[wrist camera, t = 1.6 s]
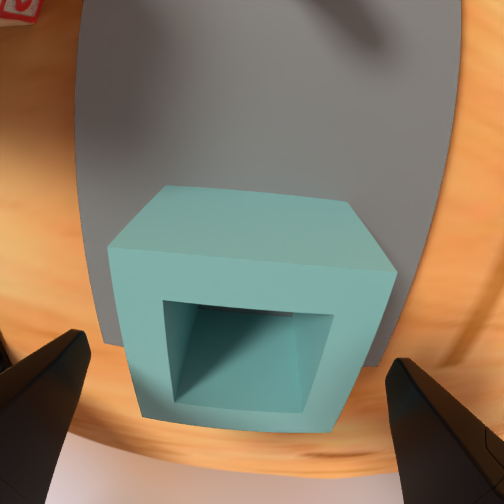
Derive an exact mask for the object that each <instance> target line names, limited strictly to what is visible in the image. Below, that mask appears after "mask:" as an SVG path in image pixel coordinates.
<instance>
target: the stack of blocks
mask: <svg viewBox="0 0 504 504" xmlns="http://www.w3.org/2000/svg"><path fill="white" fill-rule="evenodd" d="M42 3H43V0H0V27H3V26H15V25H33V24H35V23H36V21H37V18H38V15H39V12H40V9H41V6H42Z"/></svg>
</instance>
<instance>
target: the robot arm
mask: <svg viewBox="0 0 504 504" xmlns="http://www.w3.org/2000/svg"><path fill="white" fill-rule="evenodd" d="M90 359H91V350H90V347H89V343H88V340H87V337H86V334H85V332H84V331H81V330H76V329H71V330H69V331H67V332H66V333H64V334H62V335H61V336H59V337H58V338H56V339H54V340H53V341H51V342H50V343H48V344H46V345H45V346H43V347H42V348H40V349H38V350H37V351H35V352H34V353H32V354H30V355H29V356H27V357H26V358H24V359H23V360H21V361H19V362H18V363H16V364H15V365H13V366H11V364H10V362H9V360H8V358H7V356H6V354H5V351H4V349H3V347H2V345H1V343H0V504H45V500H46V497H47V493H48V490H49V487H50V483H51V480H52V477H53V473H54V470H55V467H56V464H57V460H58V458H59V455H60V452H61V449H62V446H63V443H64V440H65V437H66V434H67V432H68V429H69V426H70V423H71V421H72V418H73V415H74V412H75V410H76V407H77V404H78V402H79V398H80V395H81V391H82V388H83V384H84V380H85V377H86V373H87V369H88V366H89V363H90ZM385 386H386V394H387V403H388V412H389V422H390V429H391V434H392V439H393V444H394V449H395V454H396V459H397V464H398V470H399V475H400V481H401V487H402V493H403V500H404V504H504V441H503V440H501V439H500V438H499V437H498V436H497V435H496V434H495V433H493V432H492V431H491V430H490V429H489V428H488V427H487V426H485V425H484V424H483V423H482V422H481V421H480V420H479V419H478V418H477V417H476V416H474V415H473V414H472V413H471V412H470V411H469V410H468V409H467V408H466V407H464V406H463V405H462V404H461V403H460V402H459V401H458V400H457V399H455V398H454V397H453V396H452V395H451V394H450V393H449V392H448V391H446V390H445V389H444V388H443V387H442V386H441V385H440V384H438V383H437V382H436V381H435V380H434V379H433V378H432V377H430V376H429V375H428V374H427V373H426V372H425V371H424V370H422V369H421V368H420V367H419V366H418V365H417V364H416V363H414V362H413V361H412V360H411V359H410V358H396V359H395V360H394V362H393V364H392V366H391V368H390V370H389V372H388V374H387V376H386V379H385Z"/></svg>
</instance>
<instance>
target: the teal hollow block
mask: <svg viewBox="0 0 504 504" xmlns="http://www.w3.org/2000/svg"><path fill="white" fill-rule="evenodd" d="M107 249H108V257H109V265H110V272H111V279H112V285H113V291H114V297H115V303H116V309H117V314H118V319H119V325H120V330H121V334H122V339H123V344H124V348H125V353H126V357H127V361H128V366H129V370H130V374H131V378H132V382H133V385H134V389H135V393H136V397H137V400H138V404H139V407H140V411H141V414H142V417H145V418H150V419H156V420H161V421H167V422H173V423H180V424H187V425H194V426H202V427H210V428H219V429H230V430H242V431H257V432H281V433H328V432H331V431H332V429H333V427H334V425H335V423H336V421H337V419H338V417H339V415H340V413H341V411H342V409H343V407H344V405H345V403H346V401H347V399H348V397H349V395H350V392H351V390H352V388H353V386H354V384H355V382H356V379H357V377H358V375H359V373H360V370H361V368H362V366H363V363H364V361H365V359H366V356H367V354H368V352H369V349H370V347H371V344H372V342H373V339H374V337H375V334H376V332H377V329H378V327H379V324H380V321H381V319H382V316H383V313H384V311H385V308H386V305H387V302H388V300H389V297H390V294H391V291H392V288H393V285H394V282H395V279H396V276H397V273H398V272H397V271H396V269H395V268H394V266H393V265H392V263H391V262H390V260H389V259H388V258H387V256H386V255H385V253H384V252H383V250H382V249H381V247H380V246H379V245H378V243H377V242H376V240H375V239H374V238H373V236H372V235H371V233H370V232H369V231H368V229H367V228H366V226H365V225H364V224H363V222H362V221H361V220H360V218H359V217H358V216H357V214H356V213H355V212H354V210H353V209H352V208H351V206H350V205H349V204H348V202H344V201H336V200H328V199H320V198H312V197H303V196H293V195H284V194H274V193H264V192H253V191H241V190H229V189H216V188H202V187H187V186H170V185H165V186H164V187H163V188H162V189H161V190H160V191H159V192H158V193H157V194H156V195H155V196H154V197H153V199H152V200H151V201H150V202H149V203H148V204H147V205H146V206H145V207H144V208H143V209H142V210H141V211H140V212H139V213H138V214H137V215H136V216H135V217H134V218H133V219H132V220H131V221H130V222H129V223H128V225H127V226H126V227H125V228H124V229H123V230H122V231H121V232H120V233H119V234H118V235H117V236H116V238H115V239H114V240H113V241H112V242H111V243H110V244H109V245H108V246H107ZM198 304H203V305H213V306H223V307H234V308H245V309H257V310H269V311H283V312H293V316H292V317H285V316H271V315H258V314H246V313H235V312H224V311H214V310H204V309H198Z"/></svg>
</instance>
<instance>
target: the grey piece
mask: <svg viewBox="0 0 504 504" xmlns="http://www.w3.org/2000/svg"><path fill="white" fill-rule="evenodd" d="M460 47H461V0H84V2H83V9H82V16H81V23H80V31H79V40H78V50H77V63H76V79H75V159H76V176H77V189H78V200H79V210H80V219H81V227H82V235H83V242H84V249H85V255H86V261H87V267H88V273H89V278H90V284H91V289H92V294H93V299H94V303H95V308H96V312H97V317H98V321H99V325H100V329H101V333H102V337H103V341H104V343H106V344H111V345H117V346H122V347H124V344H123V339H122V334H121V330H120V325H119V319H118V314H117V309H116V303H115V297H114V291H113V285H112V279H111V272H110V265H109V257H108V249H107V246H108V245H109V244H110V243H111V242H112V241H113V240H114V239H115V238H116V236H117V235H118V234H119V233H120V232H121V231H122V230H123V229H124V228H125V227H126V226H127V225H128V223H129V222H130V221H131V220H132V219H133V218H134V217H135V216H136V215H137V214H138V213H139V212H140V211H141V210H142V209H143V208H144V207H145V206H146V205H147V204H148V203H149V202H150V201H151V200H152V199H153V197H154V196H155V195H156V194H157V193H158V192H159V191H160V190H161V189H162V188H163V187H164V186H165V185H170V186H187V187H202V188H216V189H229V190H241V191H253V192H264V193H274V194H284V195H293V196H303V197H312V198H320V199H328V200H336V201H344V202H348V204H349V205H350V206H351V208H352V209H353V210H354V212H355V213H356V214H357V216H358V217H359V218H360V220H361V221H362V222H363V224H364V225H365V226H366V228H367V229H368V231H369V232H370V233H371V235H372V236H373V238H374V239H375V240H376V242H377V243H378V245H379V246H380V247H381V249H382V250H383V252H384V253H385V255H386V256H387V258H388V259H389V260H390V262H391V263H392V265H393V266H394V268H395V269H396V271H397V272H398V273H397V276H396V279H395V282H394V285H393V288H392V291H391V294H390V297H389V300H388V302H387V305H386V308H385V311H384V313H383V316H382V319H381V321H380V324H379V327H378V329H377V332H376V334H375V337H374V339H373V342H372V344H371V347H370V349H369V352H368V354H367V356H366V359H365V361H364V363H363V366H362V367H378V365H379V363H380V361H381V358H382V356H383V354H384V352H385V349H386V347H387V345H388V343H389V340H390V338H391V336H392V333H393V331H394V329H395V326H396V324H397V321H398V319H399V316H400V314H401V311H402V309H403V306H404V304H405V301H406V298H407V296H408V293H409V290H410V287H411V285H412V282H413V279H414V276H415V273H416V270H417V267H418V264H419V261H420V258H421V255H422V252H423V249H424V246H425V242H426V239H427V236H428V232H429V229H430V225H431V222H432V218H433V214H434V211H435V207H436V203H437V199H438V195H439V191H440V186H441V182H442V178H443V173H444V168H445V164H446V159H447V154H448V148H449V143H450V137H451V131H452V125H453V118H454V111H455V104H456V95H457V86H458V76H459V63H460ZM198 309H204V310H214V311H224V312H235V313H246V314H258V315H271V316H285V317H292V316H293V312H283V311H269V310H257V309H245V308H234V307H223V306H213V305H203V304H198Z"/></svg>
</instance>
